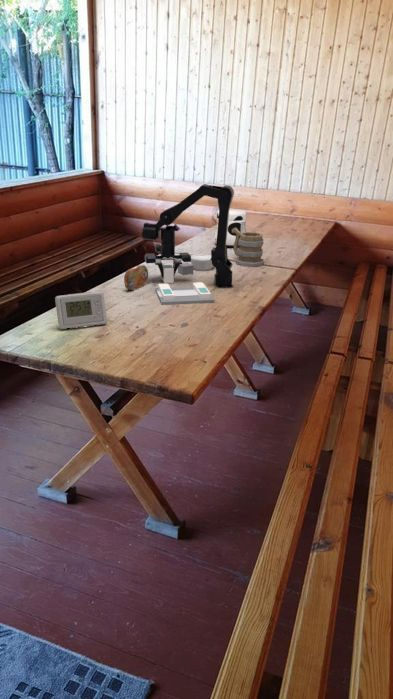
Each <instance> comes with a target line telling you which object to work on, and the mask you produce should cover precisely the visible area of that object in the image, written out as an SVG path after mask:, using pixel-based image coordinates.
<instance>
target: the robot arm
mask: <svg viewBox="0 0 393 699" xmlns="http://www.w3.org/2000/svg"><path fill="white" fill-rule="evenodd" d="M234 195H235V190H234V188H233V187H232V186H230V185H226V184H225V185H223V186H221V185H219V186H218V185H210V184H207V183H204V184H202V185H200V186H199V187H198V189H196V190H194V191H193V192H192V193H190V194H189V195H188V196H187V197H185V198H184V199H183V200H181V201H180V202H178V203H177V204H175V205H173V206H171V207H169V208H167V209H165V210H163V211H162V212H161V213H160V214H159V220H158V221H156V223H151V222H150V223H149V222H144V223H143V227H142V232H141V235H142V236H141V238H142V240H147V241H149V240H150V241H157V240H158V239H160V243H155V246H154V248H155V250H154V251H155V253H159V255H155V253H145V254H144V261H145V263H146V264H154V265H155V266H157V267H158V270H159V273H160V275H161V279H162V278H163V265H164V264H163V262H162V261H172V267H173V268H174V277H175V276H176V273H177V272H178V267H179V265H180V264H182V263H191V256H192V255H191V254H190V253H189V252H188V251H187V252H179V254H176V252H175V251H176V248H175V247H176V232H179V231H180V230H181V228H180V227H179V226H178V224H176V223H175V224H174V225H172V224H173V223H174V222H175V221H176V220H177V219H178V218H179V217H180V216H181V215H182V213H183V212H185V211H186V210H187V209H189V208H190V207H191V206H192V205H194V204H195V203H196V202H198V201H200V200H201V199H203V197H209V198H212V199H217V204H218V210H219V219H218V231H217V242H215V244H216V245H215V247H214V246H213V247H212V249H211V250H210V254H211V259H210V260H212V265H213V268H215V273H214V277H213V278H214V279H213V282H214V285H215V286H216V287H217V288H233V287H234V286H233V270H232V267H233V263H232V262H231V261H230V259H229V257H228V247H226V239H227V229H228V218H229V209H231V206H232V201H233V198H234ZM163 226H165V227H163Z"/></svg>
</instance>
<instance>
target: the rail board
mask: <svg viewBox="0 0 393 699" xmlns="http://www.w3.org/2000/svg"><path fill="white" fill-rule="evenodd" d="M154 291H155V293H156V295H157V297H158V299H159V302H160V303H161V305H164V306H165V305H166V306H167V305H183V304H185V305H186V304H188V305H189V304H206V303H207V304H209V303H215V298H214V297H213V296H212V294H211V291H210V290H209V289H208V288H207V286H206V285H205V284H204V283H203V281H202V282H199V281H198V282H192V286H171V287H170V283H158V284H157V287H155V288H154Z"/></svg>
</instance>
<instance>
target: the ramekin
mask: <svg viewBox="0 0 393 699" xmlns="http://www.w3.org/2000/svg"><path fill="white" fill-rule="evenodd" d="M190 256H191V262H190V264H191V265H193V270H195V271H202V270H204V271H211V270H212V269H213V268H214V266H213V265H212V260H210V259H211V255H210V254H200V253H198V254H193V255H192V254H191V255H190Z"/></svg>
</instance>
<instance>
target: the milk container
mask: <svg viewBox="0 0 393 699" xmlns="http://www.w3.org/2000/svg"><path fill="white" fill-rule="evenodd" d="M216 212H217V214H216V226H215V227H216V228H215V230H214V231H215V232H214V236H213V237H214V242H215V243H216V242H217V231H218V219H219V209H217V211H216ZM246 223H247V212H246V211H245V210H242V209H235V208H230V209H229V218H228V229H227V239H226V247H227V248H228V247H229V248H234V243H235V239H236V233H232V229H234V228H237V229H238V230H239V231H240V232H241V233H243V232H247V230H246V229H247V228H246V225H247V224H246ZM239 246H240V245H238V247H239Z"/></svg>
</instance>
